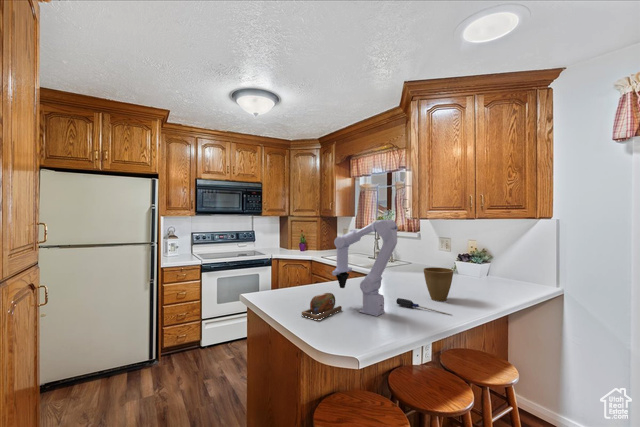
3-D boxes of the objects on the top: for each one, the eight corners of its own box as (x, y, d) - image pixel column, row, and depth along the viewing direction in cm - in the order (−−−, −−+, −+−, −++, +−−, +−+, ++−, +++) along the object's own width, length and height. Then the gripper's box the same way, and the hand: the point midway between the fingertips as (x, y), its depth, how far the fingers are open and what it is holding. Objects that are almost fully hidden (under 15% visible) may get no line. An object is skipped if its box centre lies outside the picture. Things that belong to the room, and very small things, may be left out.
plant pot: (447, 295, 166) (448, 267, 166) (457, 304, 151) (457, 272, 151) (420, 295, 167) (420, 266, 167) (427, 303, 153) (427, 271, 153)
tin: (313, 317, 131) (313, 298, 131) (308, 315, 133) (308, 296, 133) (335, 309, 142) (336, 291, 142) (331, 308, 144) (331, 290, 144)
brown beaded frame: (341, 310, 140) (341, 306, 140) (317, 321, 126) (317, 316, 126) (326, 306, 146) (326, 302, 146) (301, 316, 132) (301, 311, 132)
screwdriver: (453, 314, 136) (453, 306, 136) (451, 317, 133) (451, 308, 133) (397, 304, 150) (397, 297, 151) (395, 306, 148) (395, 298, 148)
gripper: (343, 258, 157) (343, 283, 157) (327, 261, 145) (327, 289, 145) (355, 259, 152) (355, 285, 152) (338, 263, 141) (338, 291, 141)
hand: (342, 287), depth 148 cm, fingers closed
